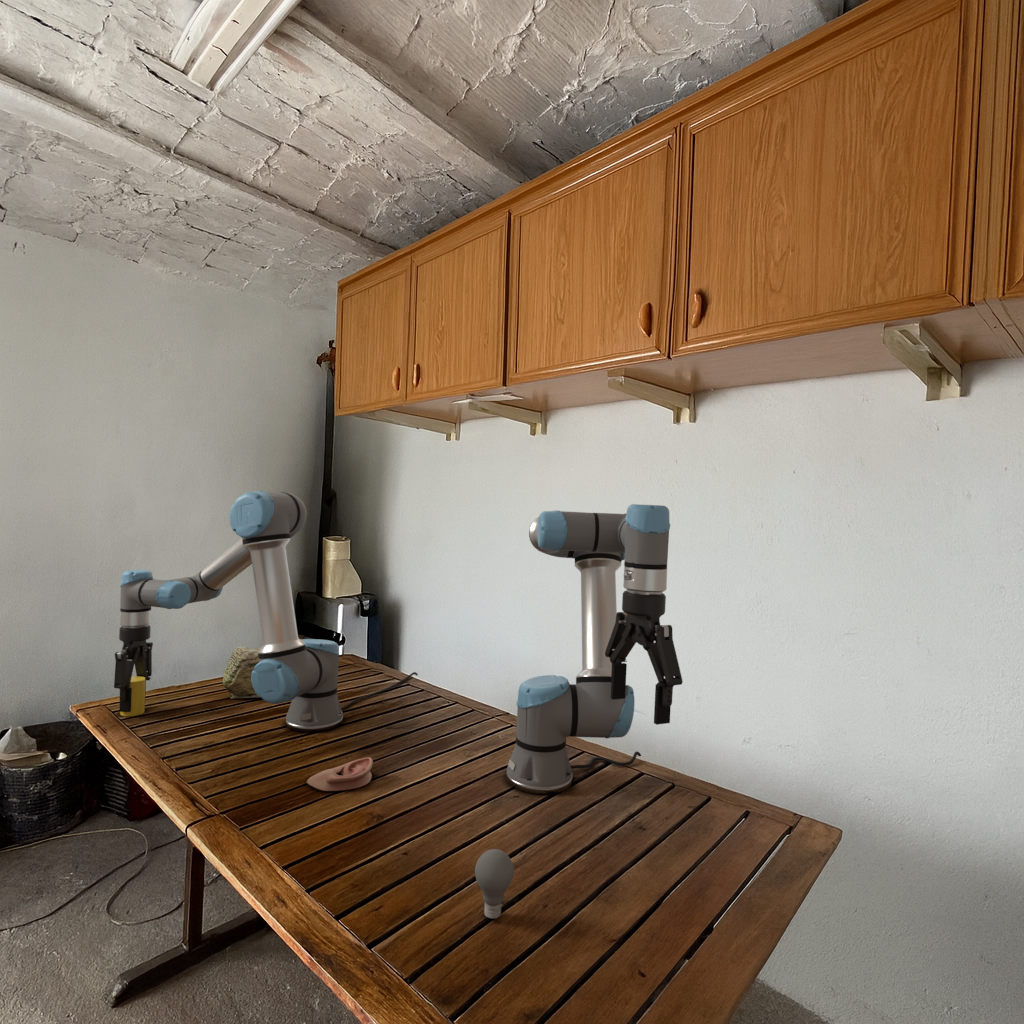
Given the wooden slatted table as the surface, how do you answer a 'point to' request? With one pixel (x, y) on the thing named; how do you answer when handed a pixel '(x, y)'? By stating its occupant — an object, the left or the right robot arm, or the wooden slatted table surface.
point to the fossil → (241, 673)
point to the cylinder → (136, 696)
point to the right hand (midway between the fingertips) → (638, 710)
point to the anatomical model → (343, 776)
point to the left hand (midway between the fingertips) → (132, 707)
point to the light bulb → (494, 879)
